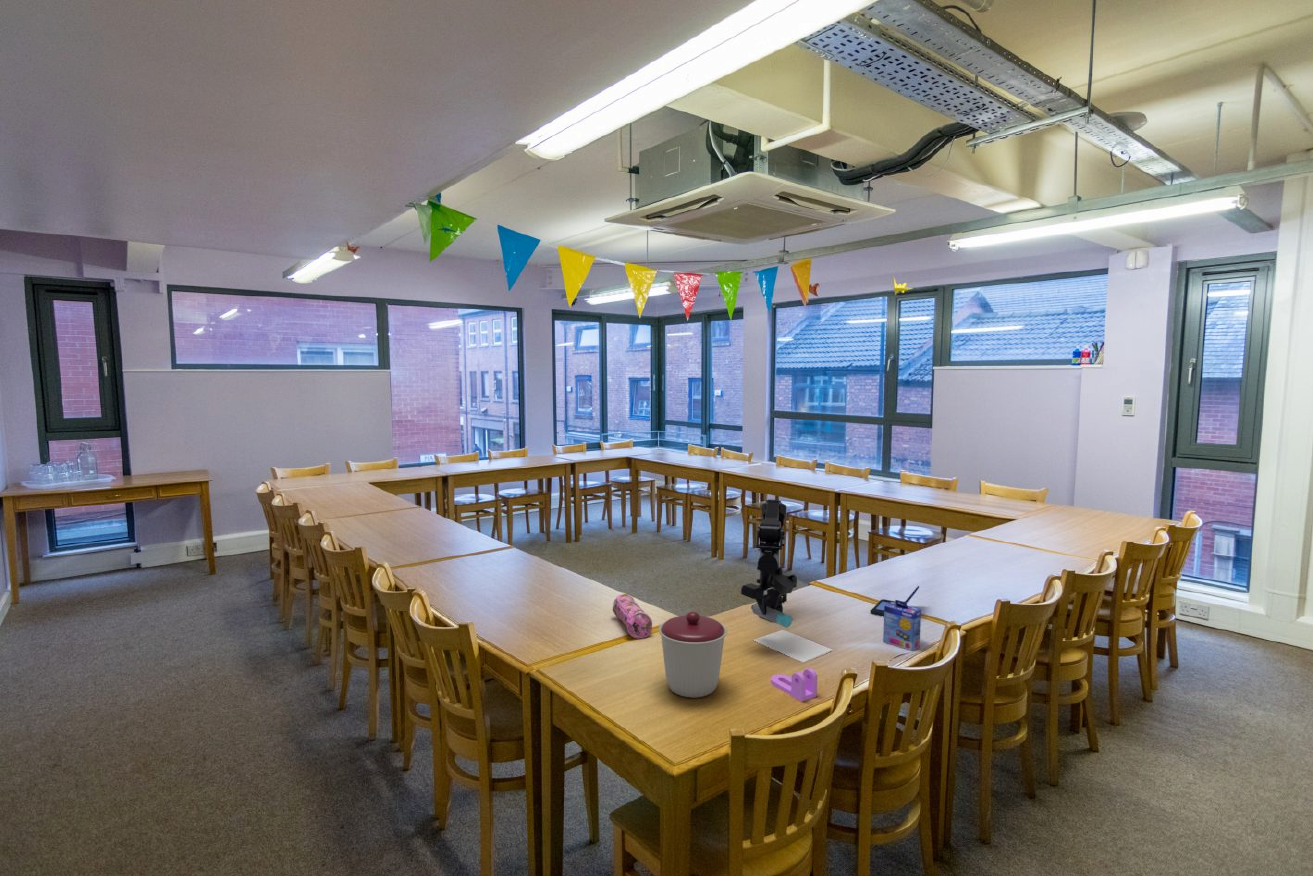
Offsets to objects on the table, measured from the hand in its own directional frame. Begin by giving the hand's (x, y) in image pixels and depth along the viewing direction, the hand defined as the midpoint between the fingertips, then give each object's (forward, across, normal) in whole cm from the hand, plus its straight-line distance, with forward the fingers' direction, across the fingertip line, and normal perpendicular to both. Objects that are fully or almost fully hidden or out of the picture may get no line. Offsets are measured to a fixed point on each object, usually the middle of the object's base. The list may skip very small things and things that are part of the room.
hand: (768, 613), depth 196 cm
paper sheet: (+11, +7, -4) cm, 13 cm away
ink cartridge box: (+11, +35, -23) cm, 44 cm away
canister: (+11, -36, -7) cm, 38 cm away
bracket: (+11, -15, -23) cm, 29 cm away
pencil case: (+11, -26, +37) cm, 47 cm away
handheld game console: (+12, +59, -5) cm, 61 cm away
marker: (+2, +1, 0) cm, 2 cm away
